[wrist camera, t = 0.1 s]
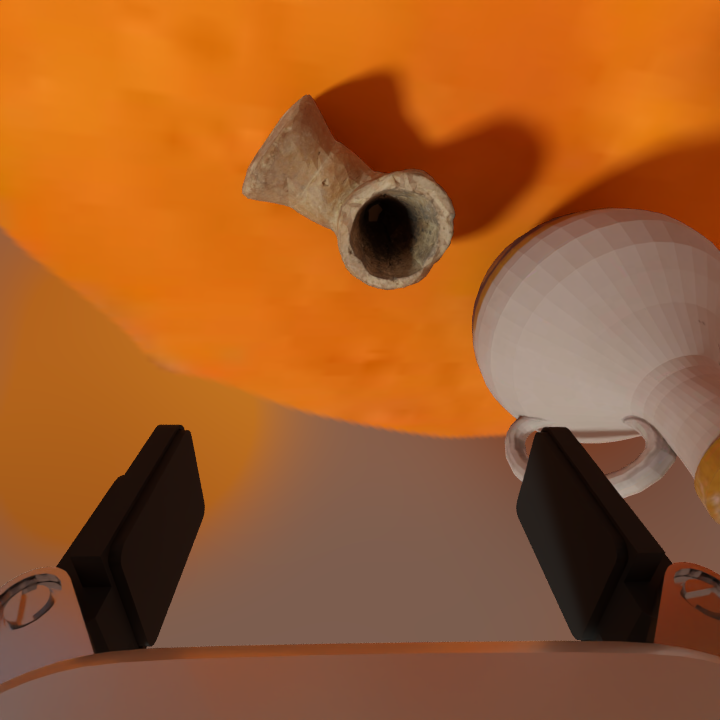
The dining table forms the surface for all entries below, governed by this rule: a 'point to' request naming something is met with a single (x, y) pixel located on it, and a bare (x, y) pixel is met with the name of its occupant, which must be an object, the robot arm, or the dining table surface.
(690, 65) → the dining table surface
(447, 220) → the pipe
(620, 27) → the dining table surface
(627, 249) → the jug
